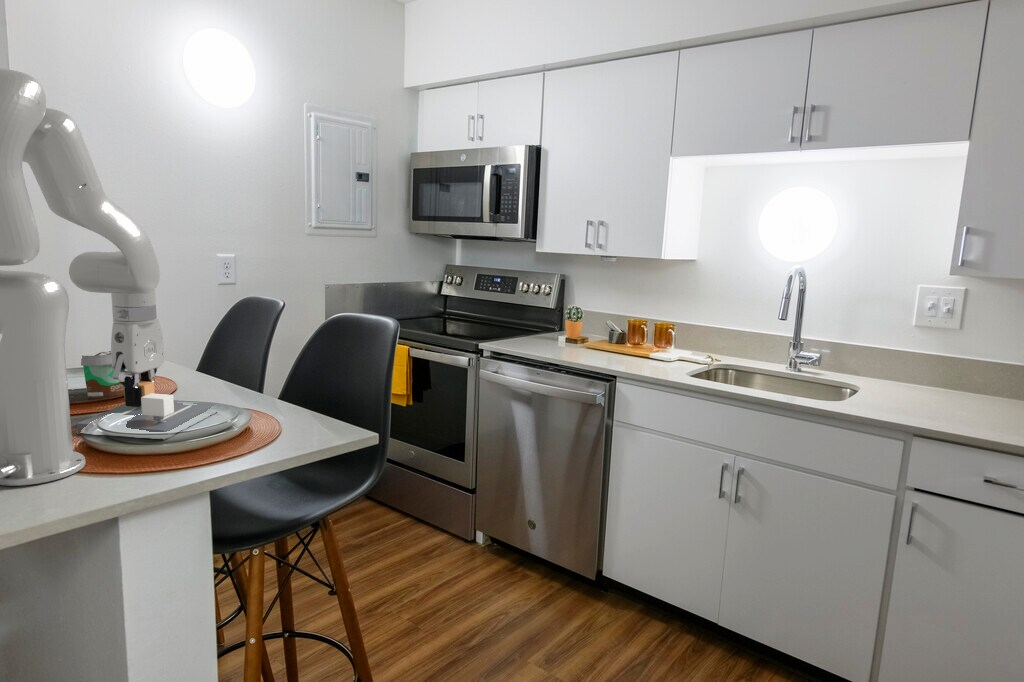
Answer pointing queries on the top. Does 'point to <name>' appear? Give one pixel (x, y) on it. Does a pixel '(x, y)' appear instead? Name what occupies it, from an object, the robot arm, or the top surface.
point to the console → (148, 423)
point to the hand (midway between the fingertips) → (140, 402)
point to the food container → (100, 377)
